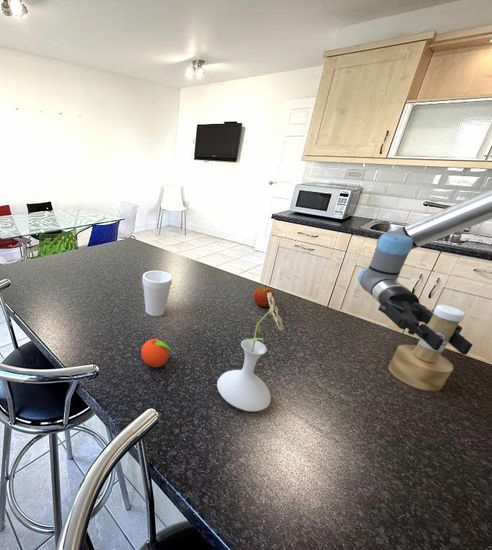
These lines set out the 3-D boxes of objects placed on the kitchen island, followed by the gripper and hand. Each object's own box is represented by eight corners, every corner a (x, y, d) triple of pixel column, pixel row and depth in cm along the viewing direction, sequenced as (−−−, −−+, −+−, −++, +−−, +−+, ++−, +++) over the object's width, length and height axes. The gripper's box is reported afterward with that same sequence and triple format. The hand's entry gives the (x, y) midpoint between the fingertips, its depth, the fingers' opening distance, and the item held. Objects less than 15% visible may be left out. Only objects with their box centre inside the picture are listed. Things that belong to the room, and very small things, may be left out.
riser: (425, 366, 77) (435, 348, 74) (452, 395, 68) (465, 375, 66) (380, 359, 79) (389, 341, 77) (401, 386, 70) (412, 366, 68)
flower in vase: (259, 426, 60) (289, 322, 49) (207, 397, 66) (224, 300, 56) (277, 389, 69) (306, 295, 58) (230, 367, 75) (249, 279, 65)
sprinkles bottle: (415, 359, 70) (441, 311, 65) (409, 348, 74) (433, 302, 68) (440, 366, 68) (470, 316, 63) (433, 354, 72) (460, 307, 66)
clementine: (174, 359, 78) (176, 337, 75) (168, 377, 72) (170, 354, 69) (145, 352, 80) (146, 330, 77) (137, 369, 74) (138, 346, 71)
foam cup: (174, 315, 98) (177, 279, 93) (149, 321, 94) (152, 284, 89) (159, 302, 106) (161, 268, 100) (136, 307, 102) (137, 273, 97)
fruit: (276, 307, 103) (282, 287, 100) (263, 312, 101) (268, 291, 97) (260, 299, 109) (264, 279, 106) (247, 303, 106) (251, 283, 103)
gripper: (425, 313, 84) (494, 368, 63) (355, 304, 88) (398, 353, 67) (437, 290, 81) (513, 340, 60) (364, 282, 85) (412, 326, 64)
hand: (452, 347), depth 64 cm, fingers closed on sprinkles bottle, 4 cm apart
